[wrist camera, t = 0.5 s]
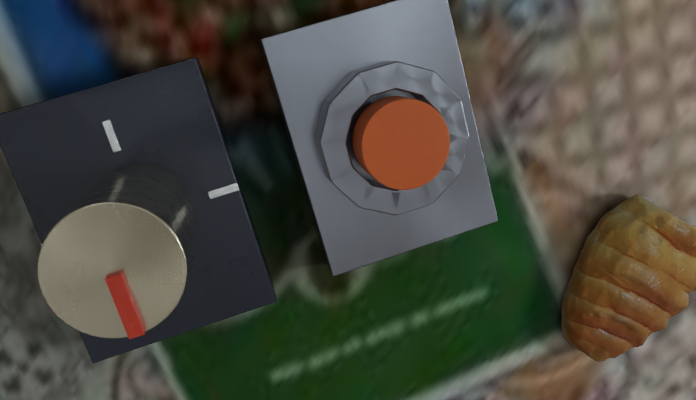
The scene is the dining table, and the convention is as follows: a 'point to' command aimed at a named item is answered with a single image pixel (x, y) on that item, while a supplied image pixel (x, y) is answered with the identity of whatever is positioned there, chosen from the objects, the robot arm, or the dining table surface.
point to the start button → (401, 142)
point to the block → (346, 107)
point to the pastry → (629, 279)
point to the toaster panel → (153, 149)
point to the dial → (120, 253)
